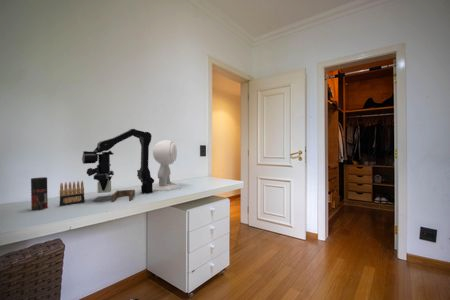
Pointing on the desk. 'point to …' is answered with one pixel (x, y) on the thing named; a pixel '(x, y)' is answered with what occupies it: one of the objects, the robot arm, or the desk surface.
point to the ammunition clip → (71, 194)
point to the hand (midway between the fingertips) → (104, 189)
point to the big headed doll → (165, 164)
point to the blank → (107, 189)
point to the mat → (102, 198)
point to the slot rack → (123, 194)
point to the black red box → (39, 193)
